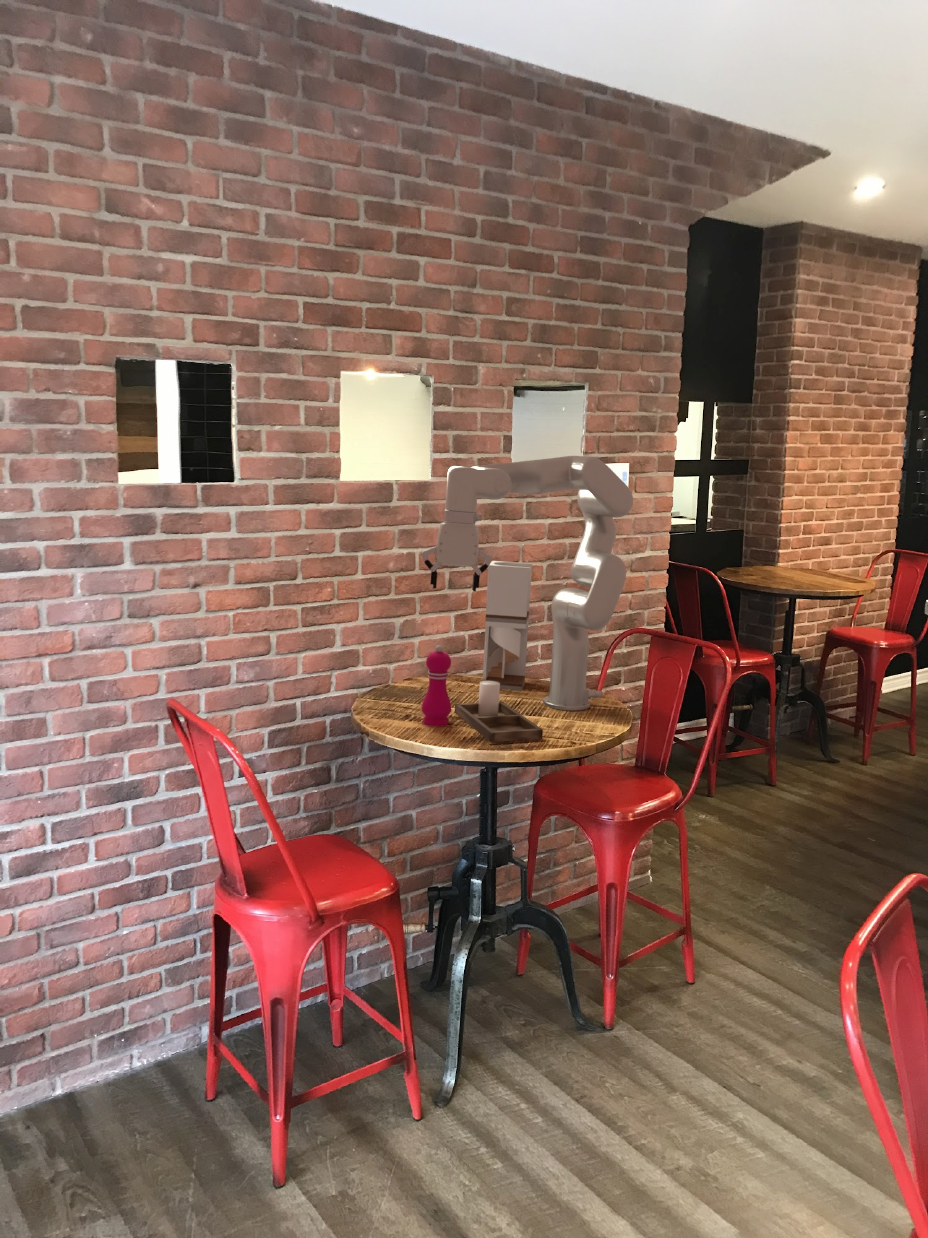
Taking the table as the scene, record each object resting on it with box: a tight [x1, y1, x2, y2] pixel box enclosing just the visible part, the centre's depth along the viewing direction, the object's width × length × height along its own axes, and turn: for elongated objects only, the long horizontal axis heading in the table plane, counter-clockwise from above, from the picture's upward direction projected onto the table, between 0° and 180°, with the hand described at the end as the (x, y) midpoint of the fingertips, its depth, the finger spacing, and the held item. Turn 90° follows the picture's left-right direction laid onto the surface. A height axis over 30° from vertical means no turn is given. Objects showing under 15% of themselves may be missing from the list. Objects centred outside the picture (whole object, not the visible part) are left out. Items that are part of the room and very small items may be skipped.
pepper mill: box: [421, 644, 452, 727], centre depth 237 cm, size 7×7×20 cm
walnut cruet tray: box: [454, 701, 544, 746], centre depth 239 cm, size 13×25×3 cm, turn 20°
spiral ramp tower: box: [482, 560, 533, 692], centre depth 280 cm, size 11×11×35 cm
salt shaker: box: [478, 680, 501, 717], centre depth 244 cm, size 5×5×9 cm
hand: (454, 589), depth 238 cm, fingers open, 9 cm apart
